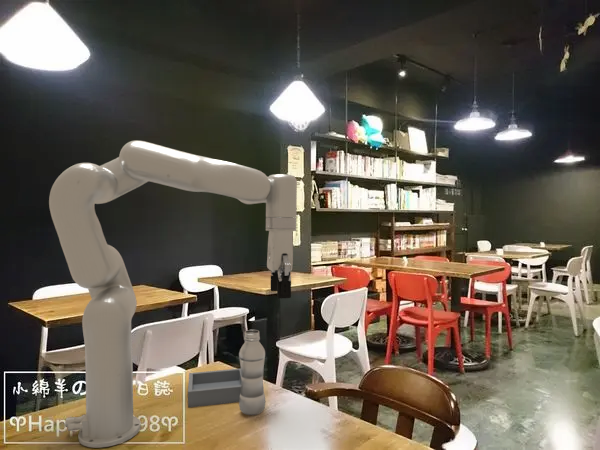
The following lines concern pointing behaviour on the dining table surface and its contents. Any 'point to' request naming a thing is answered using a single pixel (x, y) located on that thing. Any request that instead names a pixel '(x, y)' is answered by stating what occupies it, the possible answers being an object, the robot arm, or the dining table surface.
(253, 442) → the dining table surface
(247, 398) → the plastic bottle
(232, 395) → the grey bin
